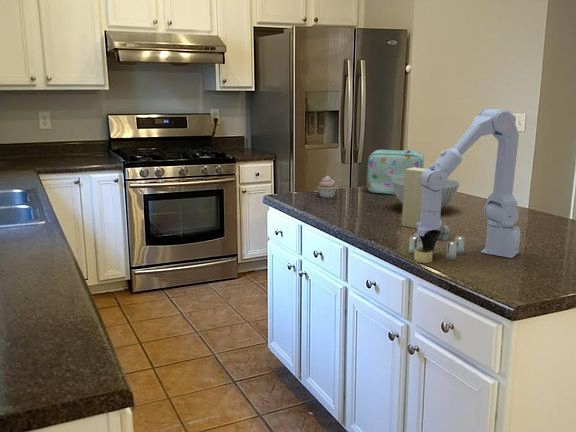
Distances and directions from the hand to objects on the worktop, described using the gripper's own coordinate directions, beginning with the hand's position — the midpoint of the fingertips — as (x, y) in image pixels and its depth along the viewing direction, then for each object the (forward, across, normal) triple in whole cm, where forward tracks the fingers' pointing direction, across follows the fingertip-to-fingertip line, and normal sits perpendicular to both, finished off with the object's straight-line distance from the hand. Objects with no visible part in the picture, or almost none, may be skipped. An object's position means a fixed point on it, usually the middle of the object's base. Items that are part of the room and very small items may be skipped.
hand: (428, 254), depth 171 cm
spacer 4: (+1, -10, +6) cm, 12 cm away
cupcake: (+1, -62, -74) cm, 96 cm away
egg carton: (+2, -25, -7) cm, 26 cm away
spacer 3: (+1, -3, +6) cm, 7 cm away
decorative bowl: (+1, -60, -26) cm, 66 cm away
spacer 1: (+1, -2, -6) cm, 6 cm away
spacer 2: (+1, -6, -6) cm, 9 cm away
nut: (+1, +4, 0) cm, 4 cm away
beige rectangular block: (+1, -34, -18) cm, 39 cm away
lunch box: (+1, -88, -52) cm, 102 cm away
